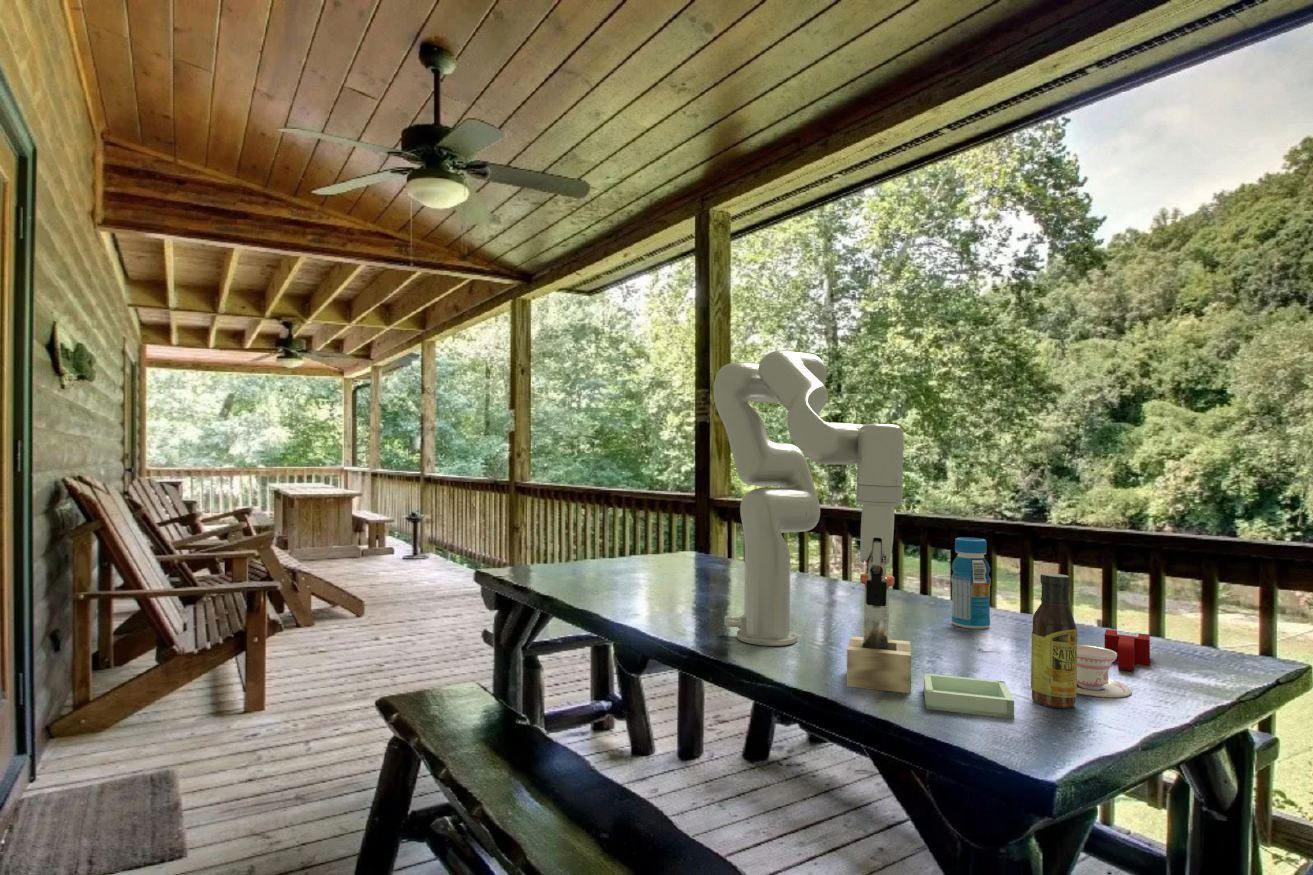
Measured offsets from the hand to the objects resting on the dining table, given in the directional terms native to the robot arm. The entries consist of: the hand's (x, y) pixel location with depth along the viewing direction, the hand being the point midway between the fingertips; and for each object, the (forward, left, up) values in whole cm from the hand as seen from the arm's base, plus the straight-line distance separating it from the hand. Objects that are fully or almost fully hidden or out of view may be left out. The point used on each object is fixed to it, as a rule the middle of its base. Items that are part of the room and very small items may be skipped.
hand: (876, 600), depth 122 cm
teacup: (+34, +9, -14) cm, 38 cm away
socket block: (0, 0, -13) cm, 13 cm away
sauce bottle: (+26, -2, -14) cm, 30 cm away
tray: (+13, -7, -13) cm, 20 cm away
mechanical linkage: (+45, +29, -14) cm, 55 cm away
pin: (0, 0, -8) cm, 8 cm away
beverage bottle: (+19, +53, -14) cm, 58 cm away
